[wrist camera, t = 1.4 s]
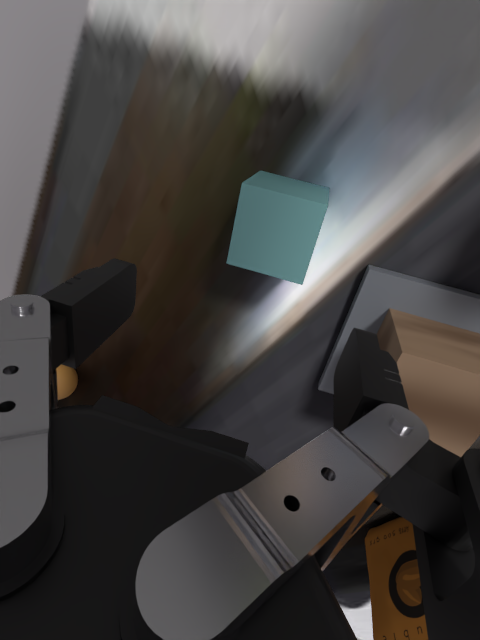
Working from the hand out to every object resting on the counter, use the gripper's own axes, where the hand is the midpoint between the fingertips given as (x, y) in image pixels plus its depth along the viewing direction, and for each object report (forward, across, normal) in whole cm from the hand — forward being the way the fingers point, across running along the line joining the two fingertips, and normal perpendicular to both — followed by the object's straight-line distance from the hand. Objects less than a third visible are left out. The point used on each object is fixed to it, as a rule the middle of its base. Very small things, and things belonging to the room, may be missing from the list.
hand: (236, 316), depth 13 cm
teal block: (+16, 0, 0) cm, 16 cm away
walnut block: (+15, -13, +8) cm, 21 cm away
